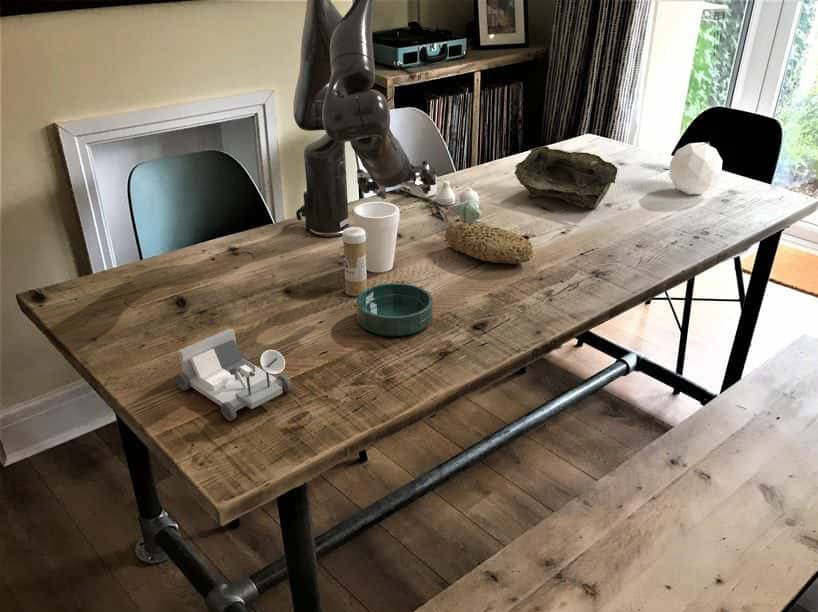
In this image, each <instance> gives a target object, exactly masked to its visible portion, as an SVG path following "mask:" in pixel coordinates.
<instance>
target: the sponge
mask: <svg viewBox="0 0 818 612" xmlns="http://www.w3.org/2000/svg"><path fill="white" fill-rule="evenodd" d="M444 237H445V240H446V242H447V245H448V246H450V248H451V249H453V250H456V251H457V252H459V253H462V254H465V255H466V256H469V257H472V258H474V259H476V260H480V261H483V262H489V263H494V264H519V263H520V264H522V263H527V262H530V261H531V260H532V259H533V258H534V257H535V252H534V250H533V245H532V242H531V241H530V240H528V239H526V238H525V237H523V236H522V235H519V234H517V233H514V232H511V231H509V230H507V229H503V228H501V227H493V226H487V225H480V224H479V225H478V224H476V223H471V224H469V223H462V221H461V222H460V221H457V222H455V223H452V224H451V225H450V226H449V227H447V228H446V230H445V234H444Z"/></svg>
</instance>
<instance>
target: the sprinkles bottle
mask: <svg viewBox="0 0 818 612" xmlns="http://www.w3.org/2000/svg"><path fill="white" fill-rule="evenodd" d="M341 238H342V239H341V240H342V243H343V257H344V258H343V267H344V285H345V288H344V292H345V294H346V295H347V296H350V297H358V295H360V294H361V293H362V292H363V291H364V290H366V289H368V287H367V270H366V253H365V240H366V233H365V230H364V229H362V228H359V227H356V226H349V228H346V229H344V230H343V231H342V235H341Z"/></svg>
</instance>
